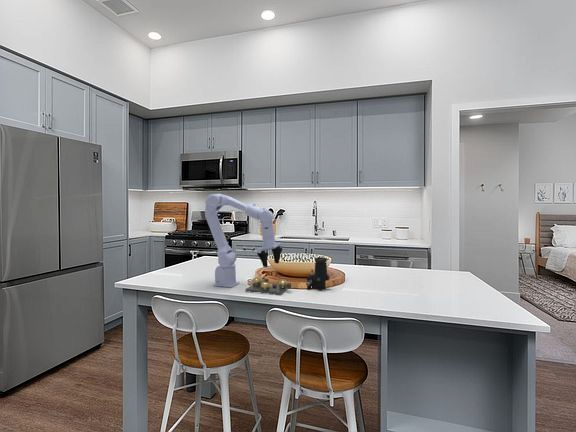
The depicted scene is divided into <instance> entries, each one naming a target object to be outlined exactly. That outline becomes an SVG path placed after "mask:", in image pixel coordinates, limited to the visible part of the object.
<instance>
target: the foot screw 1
mask: <svg viewBox="0 0 576 432" xmlns="http://www.w3.org/2000/svg"><path fill="white" fill-rule="evenodd" d="M262 282H269V279H268V278H264V279H262V278H260V277H253V279H252V285H260V284H261V283H262Z"/></svg>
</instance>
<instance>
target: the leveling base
mask: <svg viewBox="0 0 576 432" xmlns="http://www.w3.org/2000/svg"><path fill="white" fill-rule="evenodd" d="M269 284H272V283H271V282H269ZM276 284H277V288H276V289H273V288H271V287H269V289H267V290H263V289H261V284H260V285H253V284H251V285H249V286H248V287H247V288H245V292H246V291H250V292H249V293H254V292H261V293H260V294H263V293H269V294H268V295H273V294H275V295H276V296H282V295H283V294H285V293H286V292H287V291H288V290H289V289H290V288H287V287H285V288H281V287H279V283H276Z"/></svg>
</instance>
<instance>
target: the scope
mask: <svg viewBox="0 0 576 432" xmlns="http://www.w3.org/2000/svg"><path fill="white" fill-rule="evenodd" d="M327 259H328V258H326V257H321V256H320V257H316V258H314V269H310V270H311V271H310V274H309V275H308V276H307V277H306V283H305V285H306V289H307V290H318V291H324V290H326V287H327V286H326V284H327V282H326V281H330V279H331V278H330V276H329V275H328V267H327V266H328V265H327V261H328V260H327ZM311 286H312V288H313V289H311Z"/></svg>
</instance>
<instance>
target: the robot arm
mask: <svg viewBox="0 0 576 432" xmlns="http://www.w3.org/2000/svg"><path fill="white" fill-rule="evenodd" d="M204 203H205V207H204V208H205V210H204V217H205V219H206V222H207V225H208V227H209V229H210V232H211V235H212V237H213V240H214V242H215V245H216V248H217V253H216V254H217V259H218V260H217V261H218V266H216V268H215V269H214V282H215V283H214V285H215V286H214V287H222V286H223V288H224V287H225V288H233V287H234V286H236V285H238V284H240V281H237V278H236V277H237V276H236V275H237V274H236V272H237V271H236V264H235V262H236V261H237V254H236V253H235V252H234V251H233V249H232V247H231V246H230V245H229V243H228V240H227V237H226V235H225V233H224V230H223V228H222V225H221V222H220V220H219V217H218V213H219V211H220V209H221V208H223V206H230V207H233V208H235V209H238V210H241V211H243V212H244V214H245V216H248V217H249V218H252V219H255V220H257V221H259V222H260V224H261V226H260V227H261V236H262V246H260V247H257V248H256V255H257V256H258V258H259V259H260V261H261V264H262V267H263V268H268V256H269V252H267V251H271V252H272V255H273V260H274V263H275V264H279V263H280V258H281V254H282V252H283V245H282V242H276V240H275V239H276V238H275V227H274V217H275V216H274V213H273V212H272V211H270V209H266V208H265V207H263V208H261V207H259V206H258V205H257V203H249V204H246V203H244V202H243V201H242V202H241V201H240V200H237V199H235V198H233V197H231V196H229V195H227V194H223V193H211V194H209V195H208V196H207V198H206V199H205V200H204Z"/></svg>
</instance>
